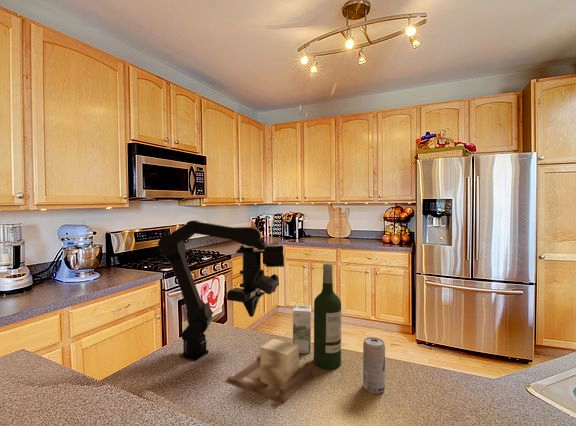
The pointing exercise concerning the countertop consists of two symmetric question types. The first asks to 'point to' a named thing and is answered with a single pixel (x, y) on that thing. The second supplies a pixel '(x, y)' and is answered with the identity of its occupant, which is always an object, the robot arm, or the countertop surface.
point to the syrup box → (302, 328)
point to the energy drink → (374, 365)
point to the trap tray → (268, 390)
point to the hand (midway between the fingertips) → (251, 316)
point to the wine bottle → (327, 324)
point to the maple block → (278, 362)
